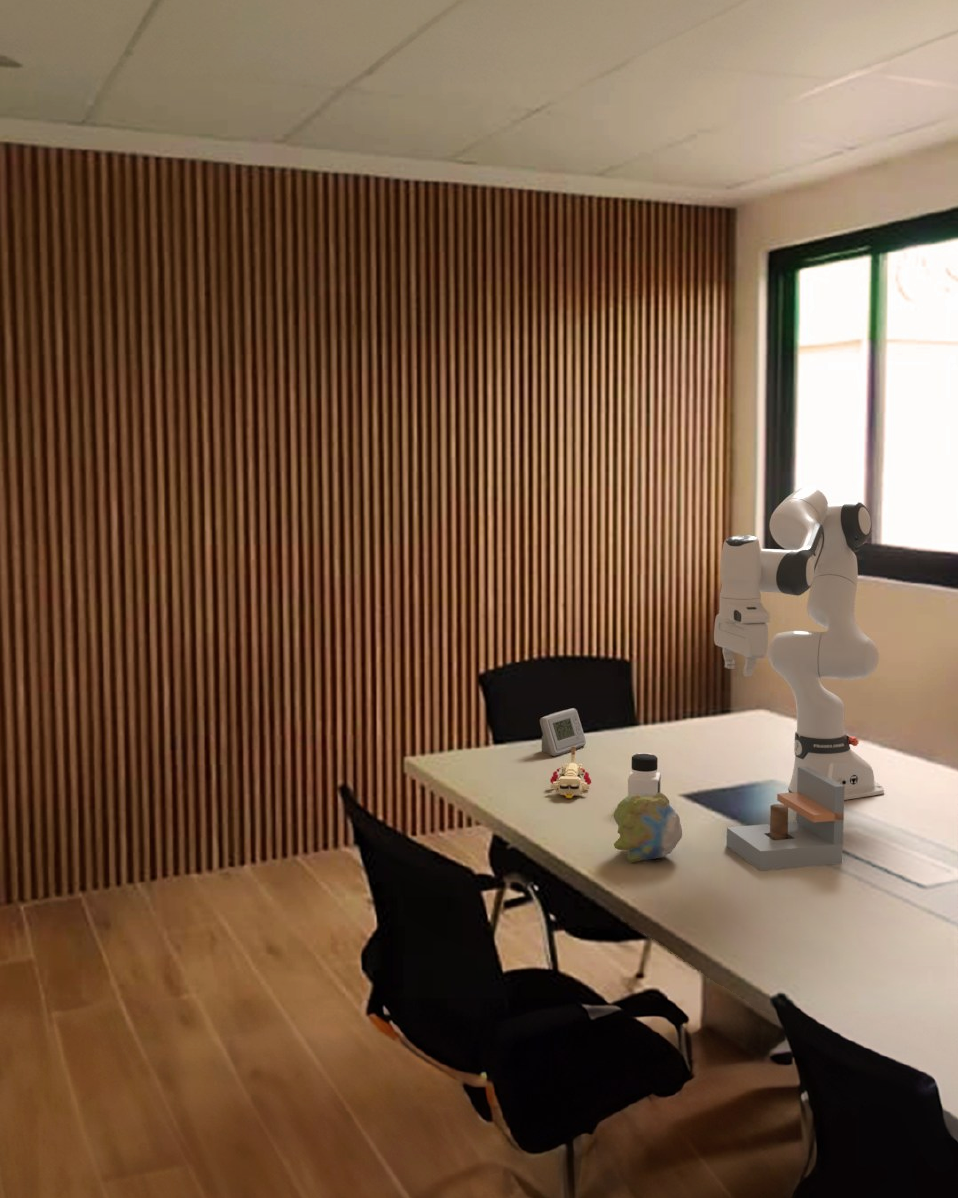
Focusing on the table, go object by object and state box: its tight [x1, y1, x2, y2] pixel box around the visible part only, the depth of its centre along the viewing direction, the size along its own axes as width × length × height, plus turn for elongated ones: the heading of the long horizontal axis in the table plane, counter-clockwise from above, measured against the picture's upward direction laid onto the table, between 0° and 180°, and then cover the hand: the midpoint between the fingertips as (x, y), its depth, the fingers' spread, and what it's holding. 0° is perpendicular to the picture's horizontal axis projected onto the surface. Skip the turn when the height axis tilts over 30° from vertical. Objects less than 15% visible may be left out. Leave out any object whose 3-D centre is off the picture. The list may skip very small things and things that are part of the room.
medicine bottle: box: [627, 752, 662, 796], centre depth 300 cm, size 7×7×12 cm
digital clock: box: [539, 707, 587, 757], centre depth 352 cm, size 16×9×11 cm, turn 130°
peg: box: [769, 803, 789, 840], centre depth 264 cm, size 4×4×10 cm
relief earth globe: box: [613, 792, 683, 864], centre depth 263 cm, size 14×16×15 cm
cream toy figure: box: [549, 746, 592, 799], centre depth 317 cm, size 10×9×25 cm
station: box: [726, 766, 845, 871], centre depth 264 cm, size 18×16×16 cm
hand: (738, 672), depth 283 cm, fingers open, 8 cm apart
